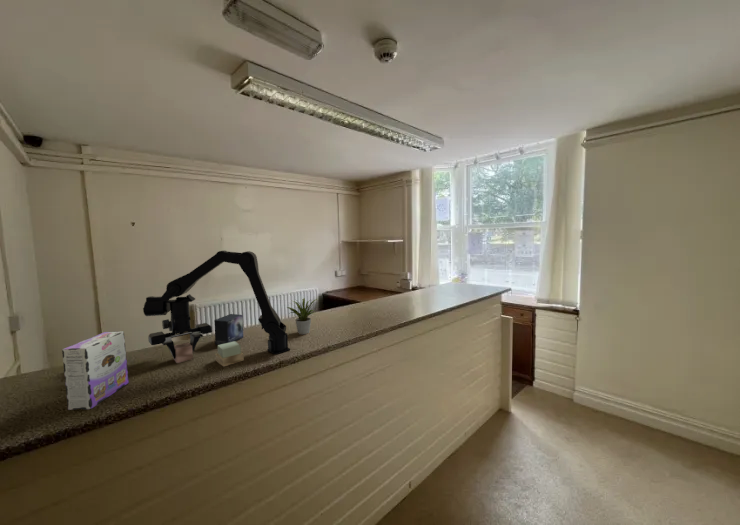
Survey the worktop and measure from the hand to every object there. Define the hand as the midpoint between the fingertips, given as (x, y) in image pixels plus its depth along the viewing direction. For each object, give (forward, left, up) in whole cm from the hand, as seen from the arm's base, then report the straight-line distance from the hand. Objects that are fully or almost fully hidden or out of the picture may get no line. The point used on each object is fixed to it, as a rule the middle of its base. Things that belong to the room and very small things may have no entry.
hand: (183, 356), depth 108 cm
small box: (-19, -7, -1) cm, 20 cm away
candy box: (+23, +12, -1) cm, 26 cm away
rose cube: (0, 0, -1) cm, 1 cm away
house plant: (-48, +6, -1) cm, 48 cm away
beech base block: (-11, +14, -2) cm, 18 cm away
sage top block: (-11, +14, +2) cm, 18 cm away
